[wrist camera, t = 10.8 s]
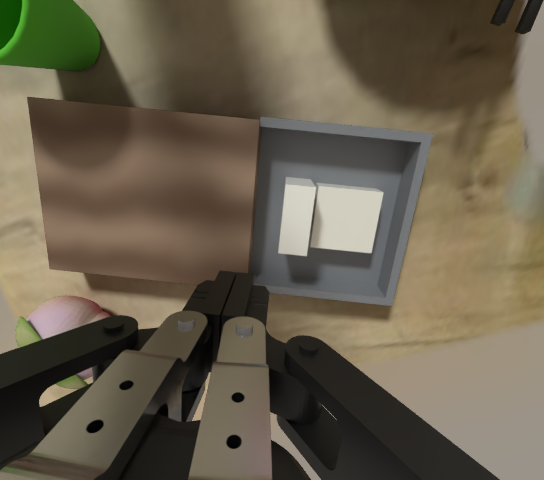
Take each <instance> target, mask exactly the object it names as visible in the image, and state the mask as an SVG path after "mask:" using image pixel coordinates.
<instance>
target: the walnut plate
mask: <svg viewBox="0 0 544 480" xmlns="http://www.w3.org/2000/svg"><path fill="white" fill-rule="evenodd" d="M27 100H28V107H29V115H30V122H31V130H32V138H33V145H34V153H35V161H36V168H37V176H38V183H39V191H40V199H41V206H42V214H43V222H44V229H45V237H46V244H47V252H48V260H49V267H50V269H53V270H63V271H72V272H81V273H91V274H100V275H110V276H119V277H128V278H138V279H147V280H156V281H166V282H175V283H184V284H194V285H199V284H200V283H202V282H204V281H205V280H212V281H215V279H216V277H217V275H218V273H219V271H220V270H222V271H232V272H237V273H238V272H242V273H250V272H251V260H252V248H253V235H254V223H255V211H256V198H257V186H258V173H259V161H260V148H261V136H262V128H261V127H260V120H257V119H247V118H237V117H226V116H216V115H206V114H196V113H186V112H176V111H166V110H156V109H145V108H135V107H125V106H115V105H105V104H95V103H85V102H75V101H64V100H54V99H44V98H34V97H27Z"/></svg>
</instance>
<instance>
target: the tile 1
mask: <svg viewBox="0 0 544 480" xmlns="http://www.w3.org/2000/svg"><path fill="white" fill-rule="evenodd" d="M315 192H316V186H315V185H314V183H313V182H312V181H311V179H303V178H293V177H286V179H285V188H284V198H283V207H282V216H281V226H280V236H279V249H278V253H281V254H290V255H300V256H307V250H308V243H309V236H310V229H311V221H312V214H313V207H314V199H315Z"/></svg>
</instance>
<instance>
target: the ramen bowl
mask: <svg viewBox="0 0 544 480" xmlns="http://www.w3.org/2000/svg"><path fill="white" fill-rule="evenodd" d="M514 1H515V0H500V2H499V5H498V7H497V9H496V11H495V13H494V15H493V18H492V20H491V22H490V23H491V24H494V25H497V26H499V25H501V24H503V23H505V21H506V19H507V16H508V14H509V12H510V10H511V7H512V5H513V3H514ZM542 2H543V0H528V3H527V5H526V7H525V9H524V12H523V14H522V16H521V19H520V21H519V23H518V26H517V28H516V30H515V32H517V33H520V34H525V33H527V32H529V31H531V28H532V26H533V24H534V21H535V19H536V16H537V14H538V12H539V9H540V7H541V4H542Z"/></svg>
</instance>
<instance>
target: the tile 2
mask: <svg viewBox="0 0 544 480" xmlns="http://www.w3.org/2000/svg"><path fill="white" fill-rule="evenodd" d="M383 193H384V192H382V191H380V190H378V189H375V188H365V187H355V186H345V185H334V184H324V183H316V192H315V199H314V207H313V214H312V221H311V229H310V236H309V244H310V247H314V248H324V249H333V250H343V251H353V252H363V253H372V248H373V243H374V238H375V233H376V228H377V223H378V218H379V213H380V208H381V203H382V198H383Z"/></svg>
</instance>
